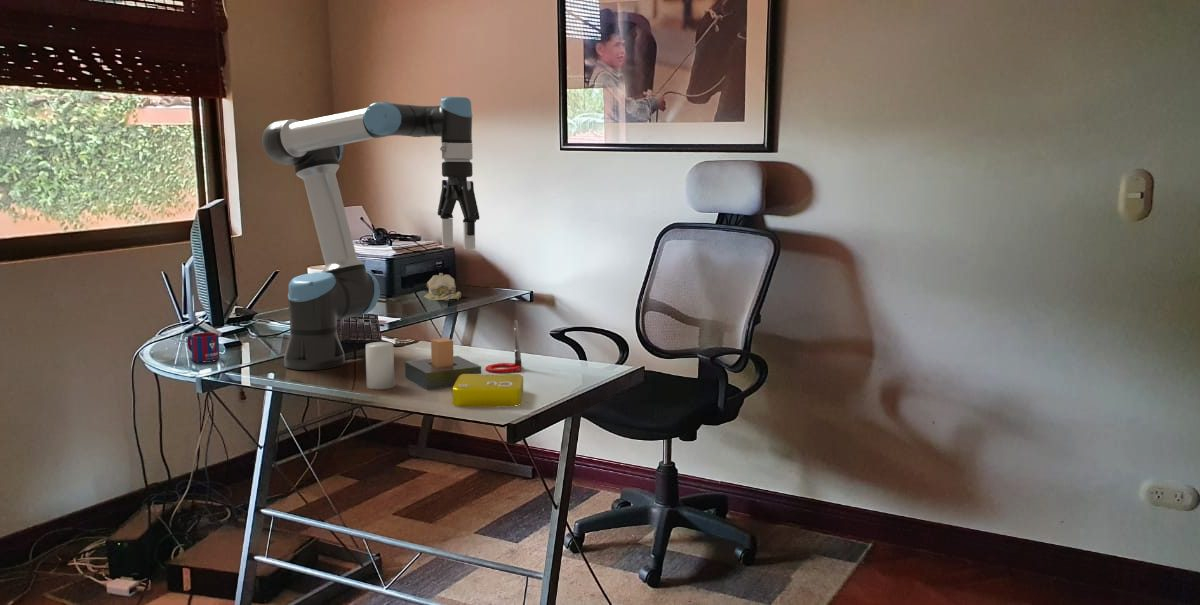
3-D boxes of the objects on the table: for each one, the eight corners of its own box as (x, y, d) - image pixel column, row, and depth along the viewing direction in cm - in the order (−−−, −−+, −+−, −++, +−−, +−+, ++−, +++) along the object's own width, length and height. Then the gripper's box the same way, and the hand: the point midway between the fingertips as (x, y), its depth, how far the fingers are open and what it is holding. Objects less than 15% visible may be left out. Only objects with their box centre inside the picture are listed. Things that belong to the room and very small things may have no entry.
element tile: (523, 391, 218) (523, 371, 217) (520, 408, 203) (519, 387, 202) (459, 391, 217) (459, 371, 216) (451, 408, 202) (451, 387, 202)
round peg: (363, 384, 221) (361, 343, 219) (389, 381, 224) (387, 341, 222) (371, 390, 215) (370, 348, 214) (398, 387, 219) (397, 345, 217)
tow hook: (484, 375, 233) (521, 373, 234) (481, 325, 231) (519, 323, 232) (486, 368, 242) (521, 366, 242) (483, 319, 240) (519, 317, 240)
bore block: (405, 377, 228) (404, 361, 227) (457, 371, 235) (457, 355, 235) (426, 389, 216) (426, 373, 216) (481, 382, 224) (481, 366, 223)
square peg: (431, 379, 226) (431, 339, 225) (446, 377, 229) (446, 337, 227) (438, 382, 223) (437, 342, 222) (453, 380, 225) (453, 340, 224)
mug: (201, 363, 241) (200, 338, 240) (180, 358, 247) (178, 333, 246) (224, 359, 247) (223, 334, 245) (203, 354, 252) (202, 330, 251)
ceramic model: (425, 301, 349) (424, 275, 348) (421, 297, 360) (421, 271, 358) (462, 300, 353) (462, 274, 352) (458, 296, 364) (457, 270, 362)
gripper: (423, 160, 237) (425, 242, 240) (463, 161, 216) (464, 251, 220) (451, 160, 241) (452, 241, 244) (492, 161, 220) (493, 250, 223)
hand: (458, 246), depth 232 cm, fingers open, 13 cm apart
